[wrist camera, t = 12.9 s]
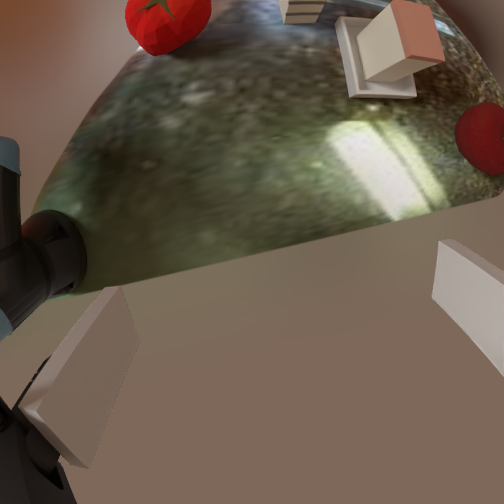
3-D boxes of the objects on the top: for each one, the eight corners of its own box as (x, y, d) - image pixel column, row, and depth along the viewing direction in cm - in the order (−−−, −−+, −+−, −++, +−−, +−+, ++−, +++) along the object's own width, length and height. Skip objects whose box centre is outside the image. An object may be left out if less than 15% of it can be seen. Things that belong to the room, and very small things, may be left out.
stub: (364, 80, 33) (411, 54, 20) (355, 37, 31) (394, -2, 18) (391, 82, 33) (445, 60, 20) (382, 40, 31) (429, 6, 18)
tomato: (131, 60, 33) (98, 40, 23) (156, -8, 29) (134, -39, 19) (203, 66, 34) (187, 42, 24) (227, -4, 30) (219, -41, 20)
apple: (469, 181, 38) (515, 194, 27) (431, 139, 36) (479, 141, 25) (492, 135, 35) (537, 139, 24) (457, 92, 33) (503, 85, 22)
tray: (349, 97, 35) (356, 93, 32) (334, 24, 31) (339, 16, 28) (407, 99, 34) (417, 96, 31) (391, 29, 30) (400, 22, 27)
